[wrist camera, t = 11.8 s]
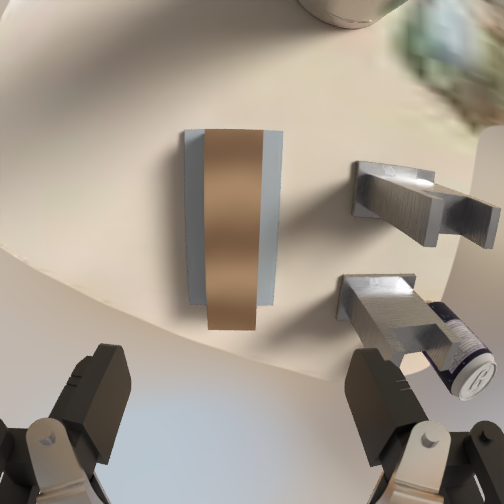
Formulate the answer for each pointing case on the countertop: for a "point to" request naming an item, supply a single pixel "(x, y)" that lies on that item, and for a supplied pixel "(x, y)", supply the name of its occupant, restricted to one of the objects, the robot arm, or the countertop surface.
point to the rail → (232, 226)
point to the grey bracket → (395, 318)
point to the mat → (267, 215)
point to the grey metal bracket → (421, 205)
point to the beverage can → (464, 359)
